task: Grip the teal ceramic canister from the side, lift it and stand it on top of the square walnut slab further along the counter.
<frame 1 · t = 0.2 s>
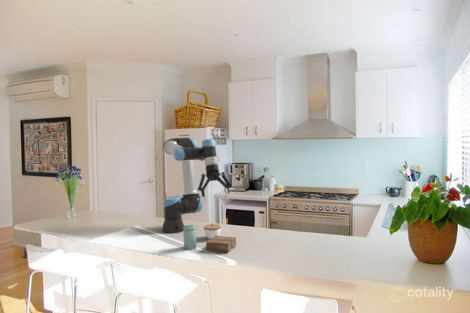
hand: (216, 200, 200), 27 cm above the counter, tool tilted 15°, fingers open, 13 cm apart
canister: (190, 247, 200), on the counter
lidded jar: (212, 238, 218), on the counter
slab: (221, 248, 198), on the counter
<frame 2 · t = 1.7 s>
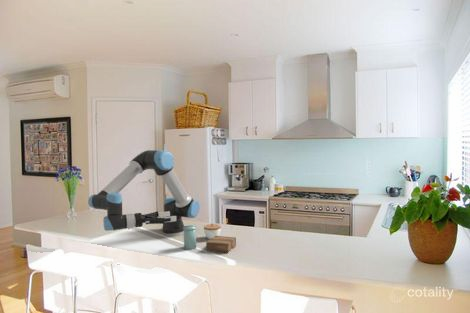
hand: (172, 216, 195), 20 cm above the counter, tool horizontal, fingers open, 13 cm apart
nothing on the counter moved.
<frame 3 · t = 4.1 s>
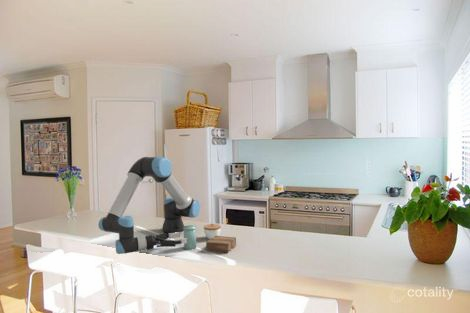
hand: (183, 237, 198), 7 cm above the counter, tool horizontal, fingers open, 13 cm apart
nothing on the counter moved.
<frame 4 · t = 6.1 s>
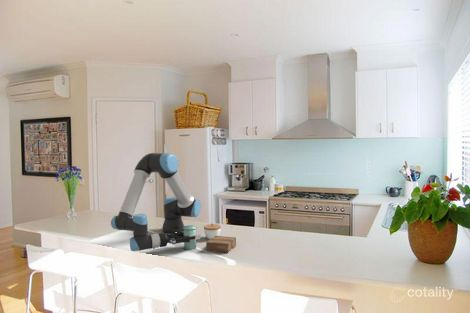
hand: (198, 234, 202), 7 cm above the counter, tool horizontal, fingers closed on canister, 7 cm apart
canister: (190, 247, 200), on the counter, touching gripper
everything else where it was.
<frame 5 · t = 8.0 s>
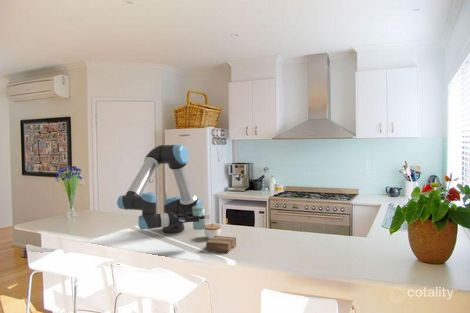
hand: (207, 215, 199), 19 cm above the counter, tool horizontal, fingers closed on canister, 7 cm apart
canister: (199, 228, 198), point 12 cm above the counter, touching gripper
everything else where it was.
when the fingers open (13 cm above the counter, at t = 10.2 s): canister stays where it is, resting on slab.
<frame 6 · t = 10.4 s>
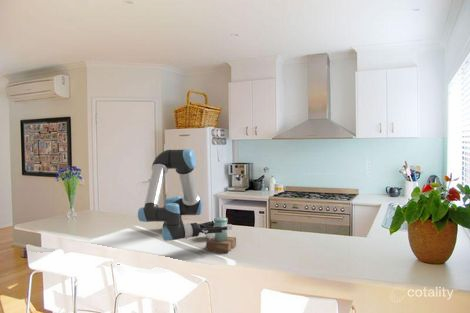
hand: (228, 225, 199), 13 cm above the counter, tool horizontal, fingers open, 9 cm apart
canister: (221, 239, 198), point 5 cm above the counter, touching slab
everything else where it was.
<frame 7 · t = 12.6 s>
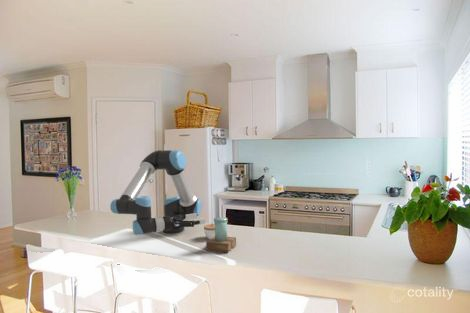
hand: (200, 218, 193), 19 cm above the counter, tool horizontal, fingers open, 13 cm apart
nothing on the counter moved.
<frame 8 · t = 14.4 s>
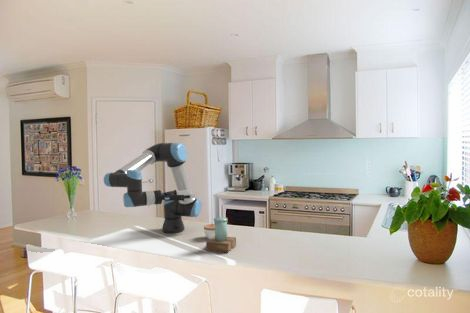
hand: (191, 194, 195), 32 cm above the counter, tool horizontal, fingers open, 13 cm apart
nothing on the counter moved.
at the end: canister inside the target area on the slab (0.1 cm from its centre), point 5.0 cm above the slab's base; canister tilted 1°; the gripper is holding nothing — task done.
